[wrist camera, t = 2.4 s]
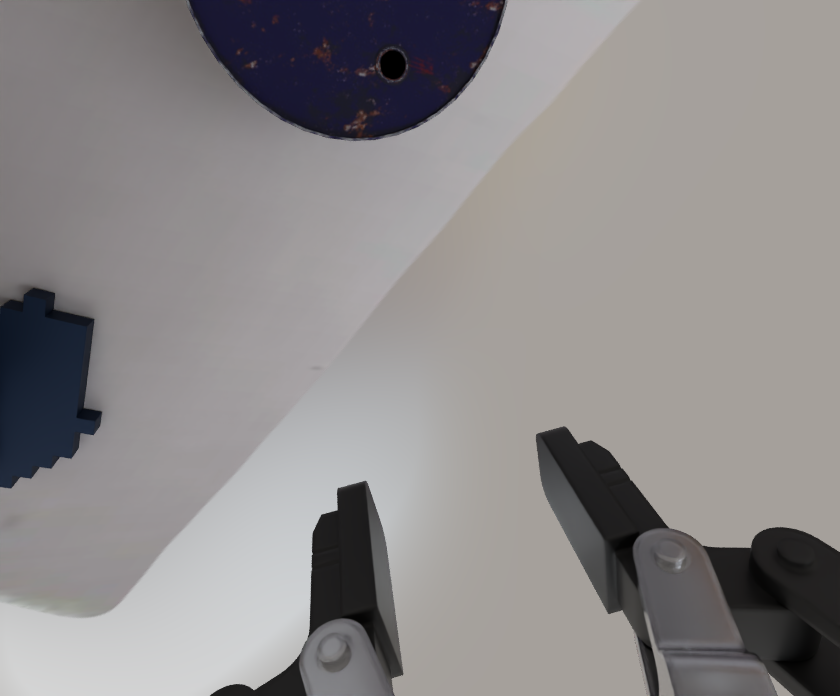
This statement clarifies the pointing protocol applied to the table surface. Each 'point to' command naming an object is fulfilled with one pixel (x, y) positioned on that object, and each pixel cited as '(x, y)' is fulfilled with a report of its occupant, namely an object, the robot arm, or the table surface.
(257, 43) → the navy blue cylinder
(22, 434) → the blocky voxel figure
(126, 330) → the table surface
